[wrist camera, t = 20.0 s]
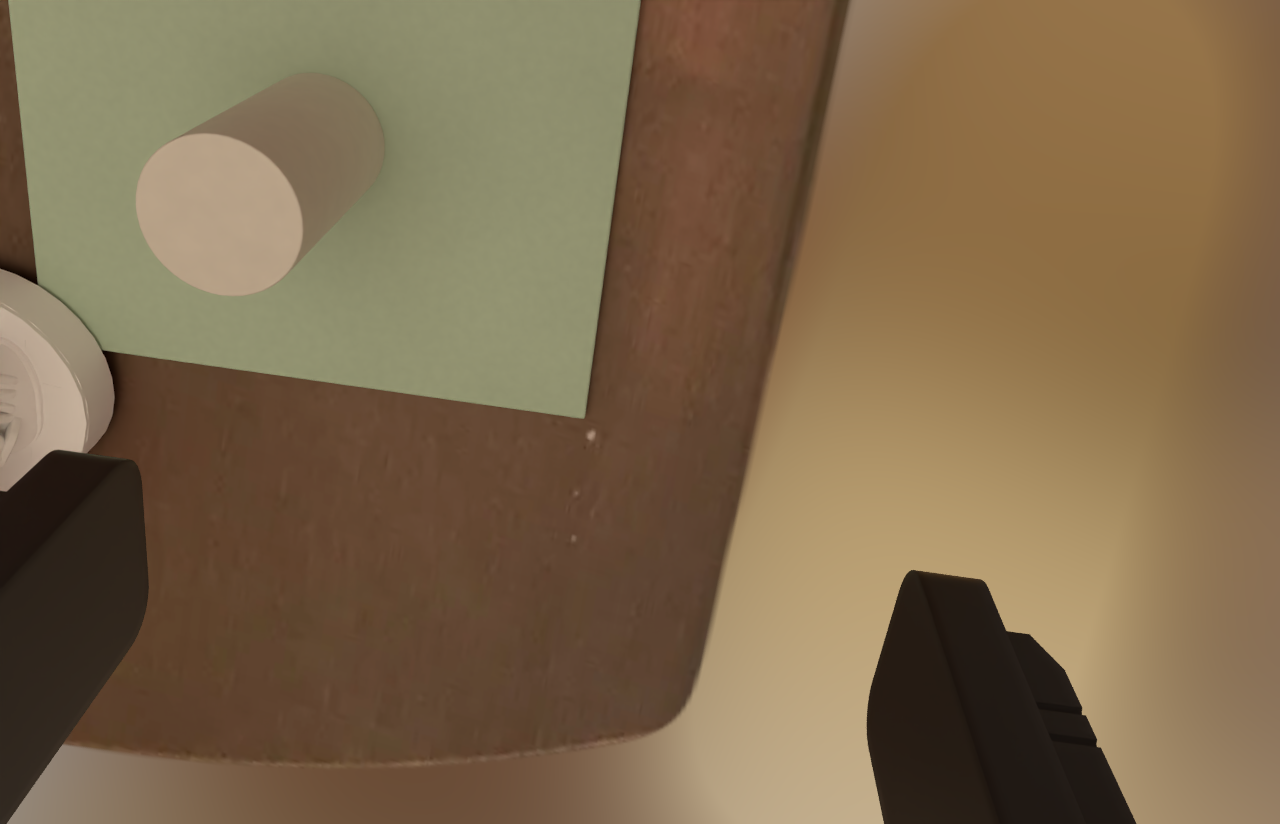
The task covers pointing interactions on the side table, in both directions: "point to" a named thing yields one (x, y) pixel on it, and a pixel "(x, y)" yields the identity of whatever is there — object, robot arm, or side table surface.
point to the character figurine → (46, 380)
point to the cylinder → (259, 183)
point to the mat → (381, 218)
